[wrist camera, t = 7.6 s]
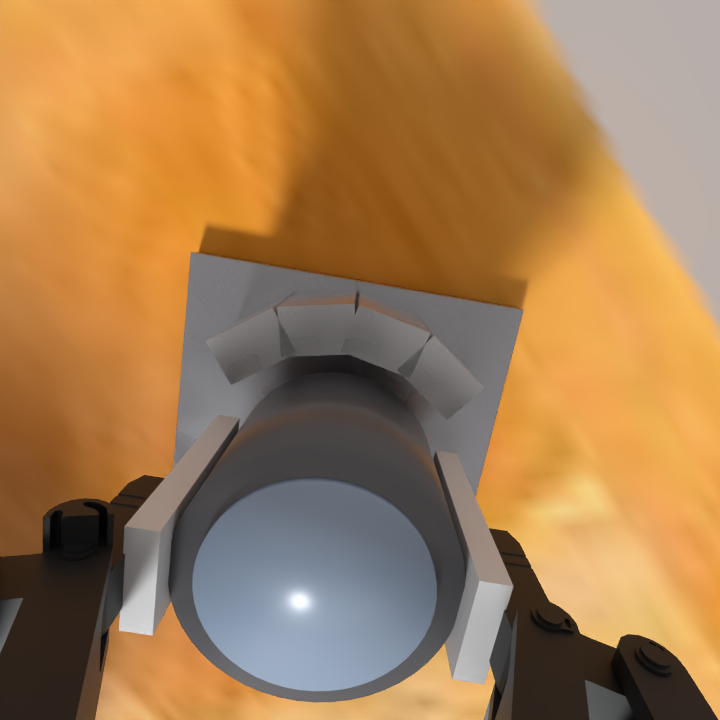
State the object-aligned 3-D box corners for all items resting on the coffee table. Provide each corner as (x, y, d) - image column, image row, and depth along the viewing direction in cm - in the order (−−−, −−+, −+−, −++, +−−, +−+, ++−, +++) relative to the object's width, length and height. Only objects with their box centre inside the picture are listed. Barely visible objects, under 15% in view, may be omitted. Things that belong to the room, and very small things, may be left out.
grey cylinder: (226, 535, 18) (152, 691, 11) (246, 356, 16) (172, 429, 10) (410, 563, 18) (433, 731, 12) (449, 390, 16) (500, 481, 10)
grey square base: (448, 576, 22) (469, 660, 18) (174, 535, 22) (125, 611, 17) (516, 307, 19) (564, 327, 15) (198, 251, 19) (146, 255, 14)
